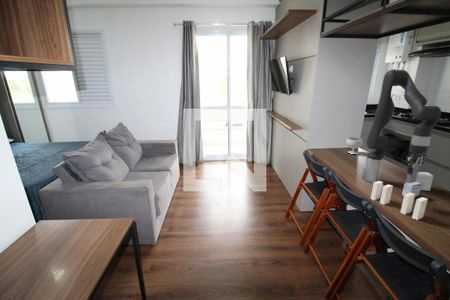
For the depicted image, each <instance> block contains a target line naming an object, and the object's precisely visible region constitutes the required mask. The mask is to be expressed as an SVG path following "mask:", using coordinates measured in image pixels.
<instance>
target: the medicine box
mask: <svg viewBox="0 0 450 300" xmlns="http://www.w3.org/2000/svg"><path fill="white" fill-rule="evenodd" d="M420 188H421V184H420V183H418V182H413V183H407V182H405V183H404V184H403V189H402V194H401V195H402V196H403V197H404V195H405V194H408V193H410V192H411V193H413V194H415V197H414V198H416V197H419V195H420V191H421V190H420Z"/></svg>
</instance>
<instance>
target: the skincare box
mask: <svg viewBox="0 0 450 300" xmlns="http://www.w3.org/2000/svg"><path fill="white" fill-rule="evenodd" d="M433 179H434V175H433V174H431V173H430V172H426V171H425V172H424V171H422V172H421V171H419V172H418V174H417V178H416V182H418V183H420V184H421V188H420V191H431V187H432V183H433ZM406 183H408V182H406Z"/></svg>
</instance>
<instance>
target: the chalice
mask: <svg viewBox="0 0 450 300" xmlns="http://www.w3.org/2000/svg"><path fill="white" fill-rule="evenodd" d="M345 144H346V146H348V147H350V148H351V150H348V153H350V154H349V155H351V154H356V155H355V156H359V155H360V154H361V153H360V152H359V151H355V150H356V149H358V148H361V147H362V146H363V144H364V141H363V139H362V138H359V137H354V136H353V137H348V138H347V139H346V142H345ZM358 154H359V155H358Z"/></svg>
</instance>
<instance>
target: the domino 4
mask: <svg viewBox="0 0 450 300" xmlns="http://www.w3.org/2000/svg"><path fill="white" fill-rule="evenodd" d="M415 198H416V197H415V194H413V193H411V192H410V193H408V194H405V195H404V196H403V200H402V204H401V208H400V212H399V213H400V214H403V215H408V214H411V212H412V209H413V204H414V200H415ZM407 213H408V214H407Z"/></svg>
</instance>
